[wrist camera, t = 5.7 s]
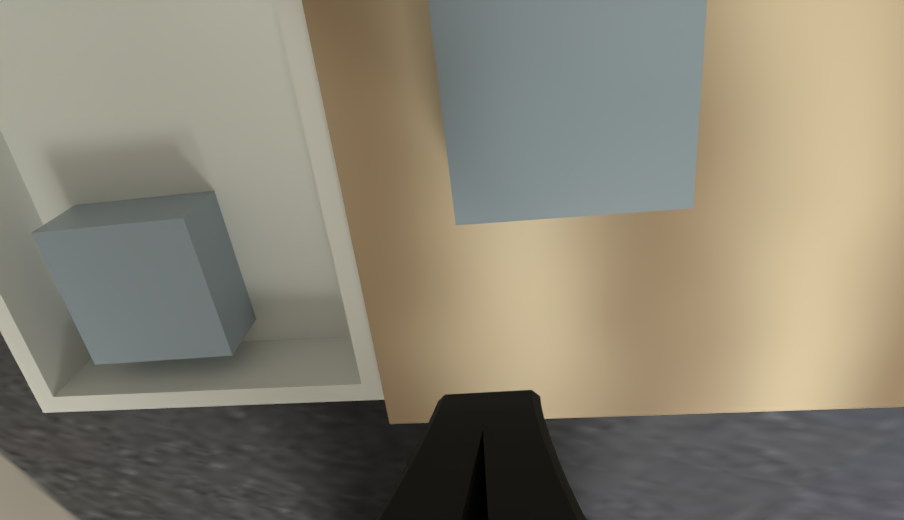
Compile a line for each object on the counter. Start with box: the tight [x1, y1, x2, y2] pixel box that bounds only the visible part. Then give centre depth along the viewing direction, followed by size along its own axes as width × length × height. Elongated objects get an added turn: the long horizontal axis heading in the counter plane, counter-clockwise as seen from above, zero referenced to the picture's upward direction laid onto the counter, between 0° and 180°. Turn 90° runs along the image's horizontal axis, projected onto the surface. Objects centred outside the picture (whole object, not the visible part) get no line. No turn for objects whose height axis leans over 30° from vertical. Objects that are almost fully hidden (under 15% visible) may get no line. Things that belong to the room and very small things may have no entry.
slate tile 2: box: [31, 191, 256, 365], centre depth 19 cm, size 4×4×2 cm
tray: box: [0, 0, 385, 413], centre depth 18 cm, size 11×12×3 cm
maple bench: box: [302, 0, 904, 424], centre depth 16 cm, size 14×13×4 cm
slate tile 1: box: [428, 0, 707, 225], centre depth 12 cm, size 4×4×2 cm
